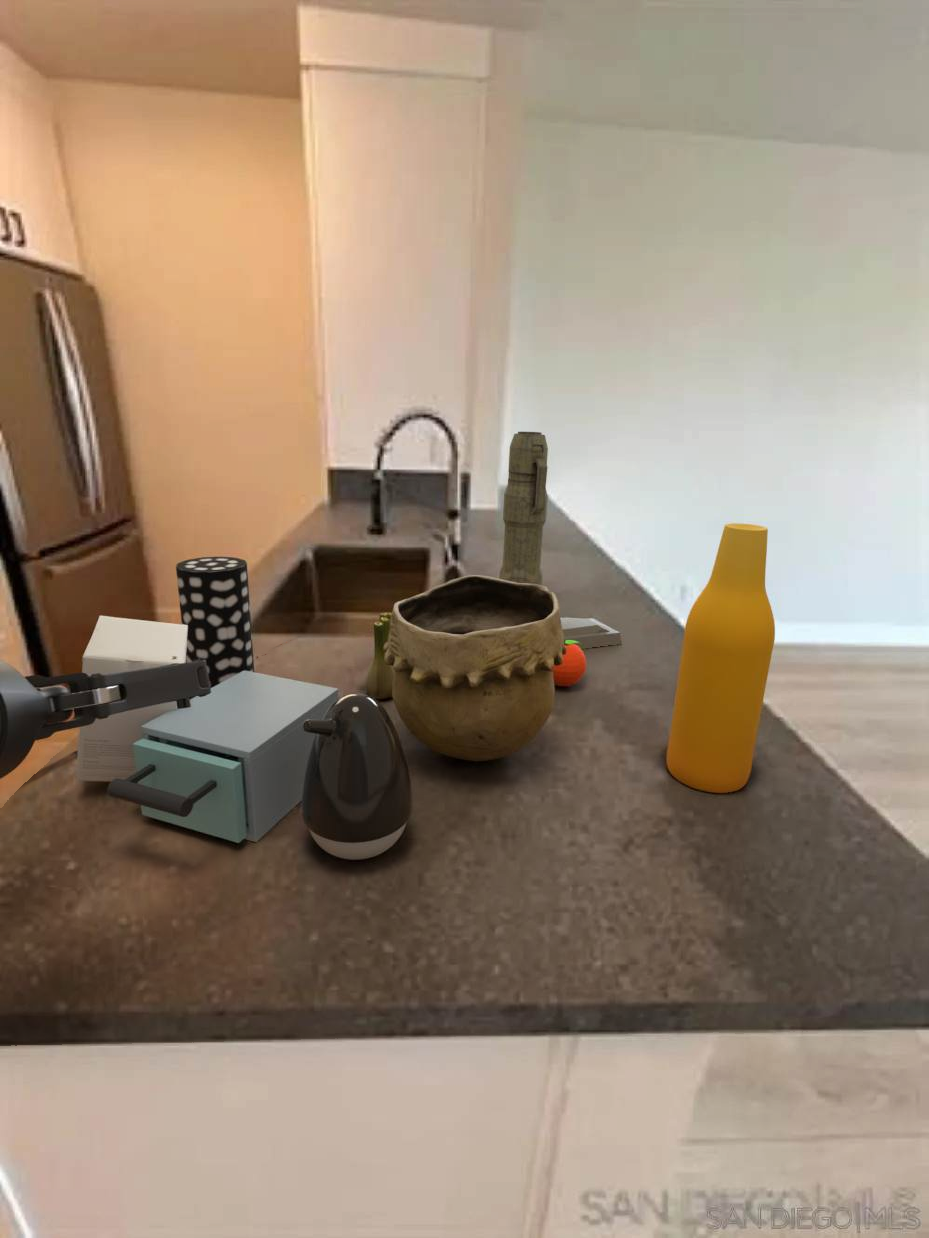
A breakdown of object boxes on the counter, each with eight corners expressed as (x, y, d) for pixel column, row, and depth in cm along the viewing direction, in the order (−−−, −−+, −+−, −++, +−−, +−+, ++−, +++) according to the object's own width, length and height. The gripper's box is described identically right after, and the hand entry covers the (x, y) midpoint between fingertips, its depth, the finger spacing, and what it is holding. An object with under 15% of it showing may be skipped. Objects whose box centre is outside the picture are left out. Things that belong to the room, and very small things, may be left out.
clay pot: (477, 823, 68) (485, 636, 61) (348, 747, 81) (344, 588, 75) (592, 753, 82) (609, 596, 76) (466, 699, 96) (471, 562, 90)
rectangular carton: (176, 734, 79) (191, 623, 74) (169, 785, 72) (186, 664, 66) (89, 729, 76) (98, 612, 70) (72, 781, 68) (81, 655, 63)
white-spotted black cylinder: (239, 727, 85) (227, 574, 79) (178, 720, 87) (161, 569, 80) (267, 700, 93) (258, 559, 87) (211, 694, 94) (198, 554, 88)
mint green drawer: (202, 875, 58) (194, 796, 55) (100, 843, 61) (89, 767, 59) (322, 768, 75) (320, 704, 73) (237, 748, 79) (233, 686, 76)
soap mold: (622, 644, 120) (624, 625, 119) (522, 656, 113) (523, 637, 112) (590, 626, 129) (592, 609, 128) (496, 637, 122) (497, 618, 121)
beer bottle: (746, 762, 81) (790, 523, 72) (750, 802, 73) (800, 538, 64) (667, 747, 84) (700, 516, 75) (662, 784, 76) (698, 529, 67)
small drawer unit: (256, 842, 64) (249, 752, 61) (151, 812, 68) (140, 726, 65) (340, 764, 78) (338, 688, 75) (249, 743, 82) (244, 670, 79)
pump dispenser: (281, 839, 64) (272, 693, 59) (369, 798, 71) (367, 665, 66) (343, 895, 57) (338, 734, 53) (433, 843, 64) (437, 698, 60)
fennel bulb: (381, 706, 93) (380, 623, 89) (355, 696, 95) (354, 616, 92) (409, 693, 97) (409, 614, 93) (384, 684, 100) (384, 607, 96)
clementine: (568, 671, 107) (572, 629, 105) (598, 687, 102) (603, 642, 99) (528, 680, 103) (531, 637, 101) (558, 697, 97) (562, 651, 95)
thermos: (519, 613, 136) (531, 433, 125) (486, 598, 145) (494, 430, 134) (553, 607, 141) (567, 434, 130) (518, 593, 150) (528, 430, 139)
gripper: (-325, 848, 33) (-36, 765, 54) (184, 755, 35) (273, 710, 56) (-349, 699, 33) (-51, 674, 55) (160, 613, 35) (258, 621, 56)
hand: (114, 692), depth 55 cm, fingers open, 13 cm apart
